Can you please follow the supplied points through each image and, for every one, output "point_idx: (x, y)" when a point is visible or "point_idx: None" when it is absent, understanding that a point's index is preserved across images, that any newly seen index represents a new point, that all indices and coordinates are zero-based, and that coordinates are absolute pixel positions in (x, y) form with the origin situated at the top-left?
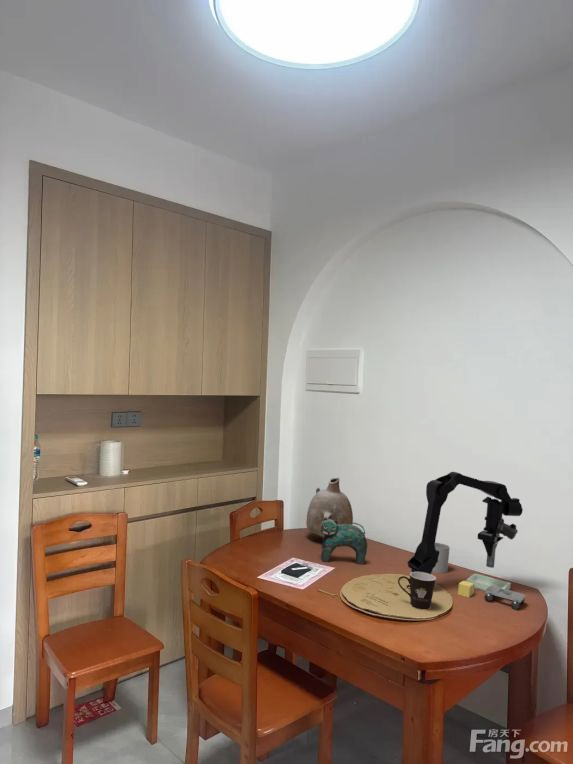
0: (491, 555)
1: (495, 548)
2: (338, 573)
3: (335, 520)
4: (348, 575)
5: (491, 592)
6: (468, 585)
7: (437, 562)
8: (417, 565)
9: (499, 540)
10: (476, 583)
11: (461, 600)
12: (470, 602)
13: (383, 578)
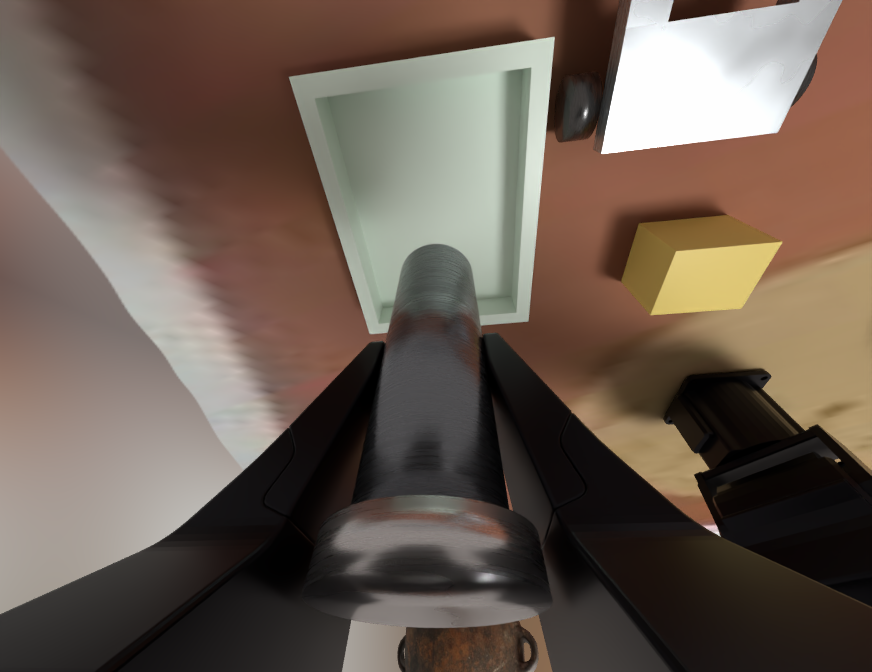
0: (492, 341)
1: (419, 405)
2: (698, 517)
3: (508, 653)
4: (700, 506)
5: (802, 64)
6: (752, 258)
7: (846, 480)
8: (714, 486)
9: (205, 597)
10: (530, 264)
11: (814, 222)
12: (835, 168)
13: (666, 469)
